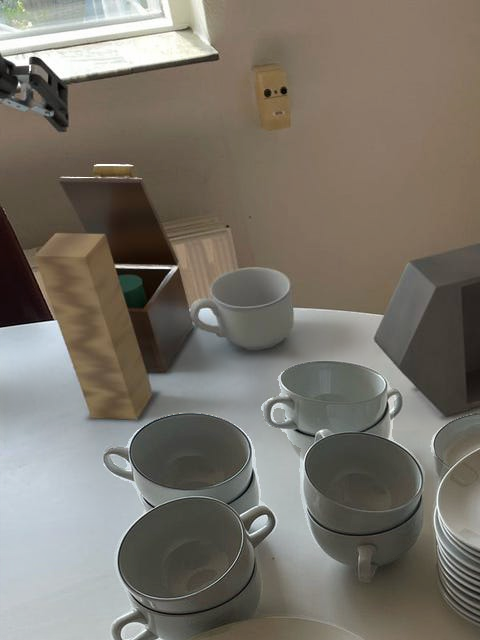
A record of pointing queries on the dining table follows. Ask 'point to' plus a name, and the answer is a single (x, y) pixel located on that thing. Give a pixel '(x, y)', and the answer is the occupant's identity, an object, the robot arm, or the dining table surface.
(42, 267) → the stand
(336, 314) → the dining table surface
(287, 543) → the dining table surface
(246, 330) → the teacup
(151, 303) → the chest
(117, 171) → the lid
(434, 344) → the planter
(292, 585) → the dining table surface
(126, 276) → the green cylinder
